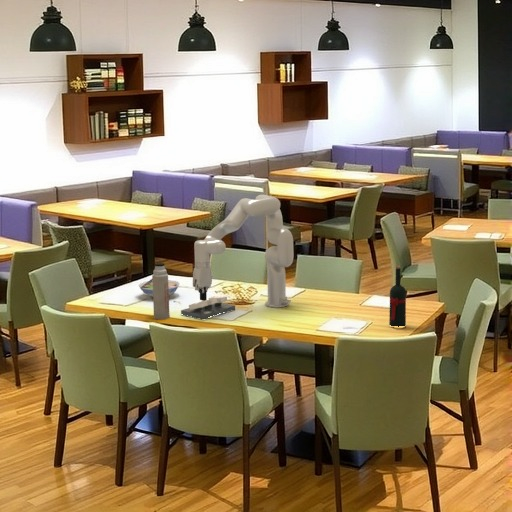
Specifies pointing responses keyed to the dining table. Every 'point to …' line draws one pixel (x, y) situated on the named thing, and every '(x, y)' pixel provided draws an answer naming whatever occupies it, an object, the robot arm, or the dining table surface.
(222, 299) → the rocker
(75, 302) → the dining table surface
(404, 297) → the wine bottle
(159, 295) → the thermos bottle
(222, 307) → the console
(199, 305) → the rocker
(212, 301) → the rocker
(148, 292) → the ramen bowl
